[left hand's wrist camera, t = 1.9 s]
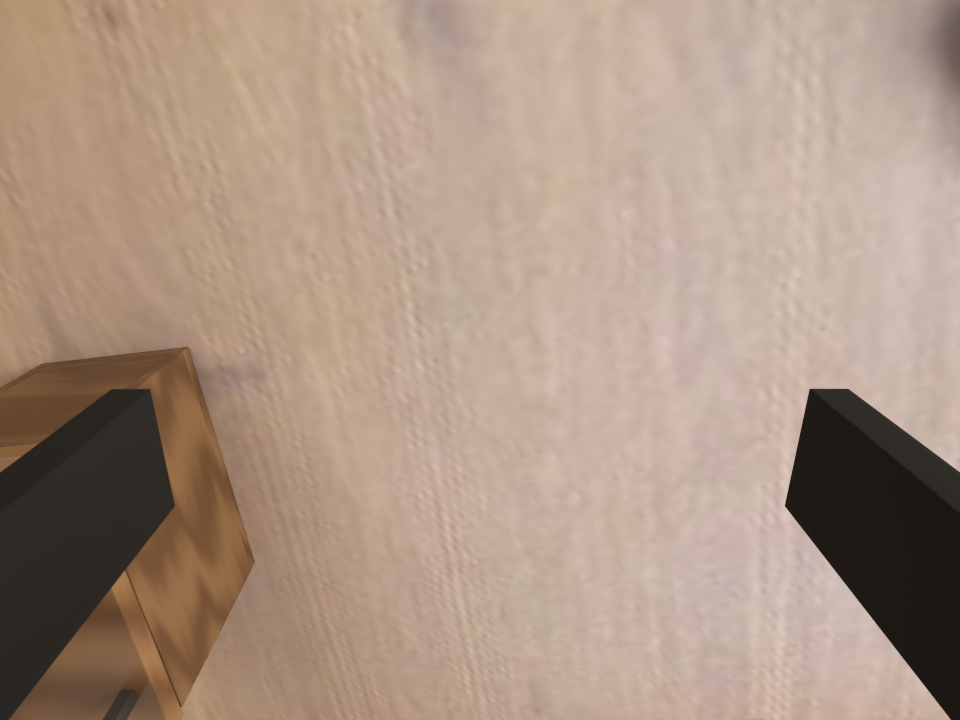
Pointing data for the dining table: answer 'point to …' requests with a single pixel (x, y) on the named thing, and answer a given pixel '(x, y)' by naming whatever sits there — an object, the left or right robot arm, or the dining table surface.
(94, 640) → the lid
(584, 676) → the dining table surface
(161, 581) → the chest
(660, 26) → the dining table surface
